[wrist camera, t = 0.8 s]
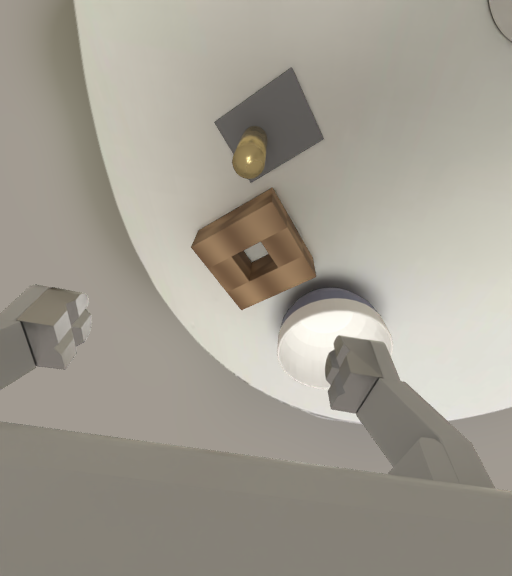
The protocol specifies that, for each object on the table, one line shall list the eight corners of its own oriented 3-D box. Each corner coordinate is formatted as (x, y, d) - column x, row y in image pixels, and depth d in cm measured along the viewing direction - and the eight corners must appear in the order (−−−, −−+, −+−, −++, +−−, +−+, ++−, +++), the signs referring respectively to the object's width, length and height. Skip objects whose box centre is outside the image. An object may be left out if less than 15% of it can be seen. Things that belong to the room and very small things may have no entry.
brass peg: (258, 120, 36) (253, 137, 28) (272, 145, 37) (270, 168, 29) (237, 135, 37) (226, 156, 29) (250, 158, 38) (243, 184, 30)
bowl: (296, 257, 46) (301, 297, 39) (394, 285, 48) (417, 328, 41) (264, 332, 55) (263, 376, 48) (348, 353, 57) (359, 398, 50)
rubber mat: (291, 67, 33) (291, 67, 33) (323, 138, 37) (323, 138, 37) (214, 121, 36) (214, 122, 36) (251, 182, 40) (250, 182, 40)
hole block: (272, 187, 41) (272, 201, 36) (312, 257, 46) (316, 276, 42) (198, 230, 45) (191, 247, 41) (244, 290, 50) (241, 310, 46)
